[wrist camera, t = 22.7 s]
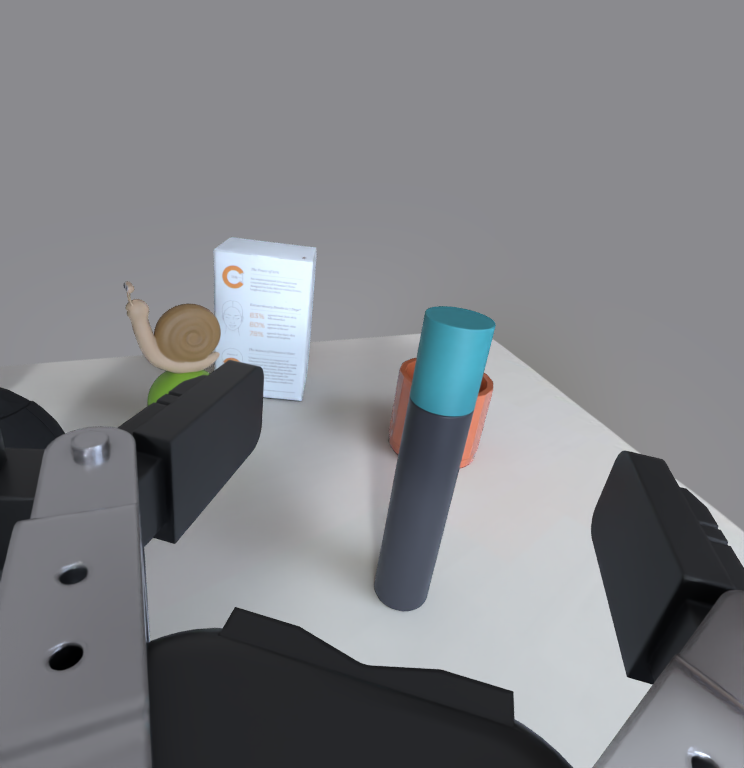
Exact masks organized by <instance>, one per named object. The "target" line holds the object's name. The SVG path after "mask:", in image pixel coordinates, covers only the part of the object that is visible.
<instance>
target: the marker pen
mask: <svg viewBox="0 0 744 768" xmlns="http://www.w3.org/2000/svg"><path fill="white" fill-rule="evenodd" d="M495 326H496V325H495V322H494V321H493V320H492V319H491V318H489V317H487V316H485V315H483V314H480V313H477V312H475V311H471V310H467V309H462V308H457V307H447V306H446V307H445V306H439V307H432V308H429V309H427V310H426V311H425V316H424V322H423V327H422V332H421V337H420V342H419V348H418V353H417V358H416V364H415V369H414V374H413V380H412V385H411V390H410V396H409V401H408V406H407V412H406V417H405V423H404V428H403V433H402V439H401V444H400V449H399V455H398V460H397V465H396V471H395V476H394V481H393V487H392V492H391V497H390V503H389V508H388V513H387V519H386V524H385V529H384V535H383V540H382V545H381V551H380V556H379V561H378V567H377V572H376V578H375V583H374V587H375V592H376V594H377V596H378V598H379V599H380V600H381V601H382V602H383V603H384V604H385V605H387V606H388V607H390V608H392V609H395V610H399V611H411V610H414V609H417V608H419V607H420V606H421V605H422V604H423V603H424V602H425V600H426V598H427V594H428V590H429V586H430V582H431V579H432V575H433V571H434V567H435V563H436V559H437V555H438V551H439V547H440V543H441V539H442V535H443V531H444V527H445V523H446V519H447V515H448V511H449V507H450V504H451V500H452V496H453V492H454V488H455V484H456V480H457V476H458V472H459V468H460V464H461V460H462V456H463V452H464V448H465V444H466V440H467V436H468V432H469V429H470V425H471V421H472V417H473V413H474V409H475V405H476V401H477V397H478V393H479V389H480V385H481V381H482V377H483V373H484V369H485V365H486V361H487V357H488V354H489V350H490V346H491V342H492V338H493V334H494V330H495Z"/></svg>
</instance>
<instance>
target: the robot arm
mask: <svg viewBox="0 0 744 768" xmlns="http://www.w3.org/2000/svg"><path fill="white" fill-rule="evenodd" d="M263 390H264V372H263V369H262V367H260V366H256V365H251V364H247V363H243V362H238V361H234V360H228V361H227V362H225V363H224V364H223V365H221V366H220V367H219V368H217V369H216V370H215V371H213V372H212V373H211V374H209V375H201V376H198V377H195V378H192V379H189V380H186V381H183V382H182V383H180V384H179V385H177V386H176V387H175V388H173V389H172V390H170V391H169V393H168V394H165V395H163V396H162V397H160V398H159V399H158V400H157V401H156V403H154V402H153V403H152V404H150V405H149V406H148V407H146V408H145V409H143V410H142V411H141V412H139V413H138V414H136V415H135V416H133V417H132V418H131V419H129V420H128V421H126V422H125V423H124V424H122V425H121V426H119V427H118V428H114V427H101V426H100V427H88V428H82V429H78V430H74V431H71V432H68V433H66V434H63V435H61V436H59V437H57V438H56V439H55V440H53V441H52V442H51V443H50V444H49V445H48V446H47V447H46V449H28V448H5V447H4V442H3V438H2V433H1V429H0V768H573V767H572V766H571V765H570V764H569V763H568V762H567V761H566V760H565V759H564V758H563V757H562V756H561V755H560V753H559V752H557V751H556V750H555V749H554V748H553V747H552V746H551V745H549V744H548V743H547V742H546V741H545V740H544V739H543V738H541V737H540V736H539V735H537V734H536V733H535V732H533V731H532V730H531V729H529V728H528V727H526V726H525V725H523V724H522V723H520V722H518V721H517V720H515V719H514V698H513V691H510V690H506V689H503V688H500V687H497V686H493V685H490V684H487V683H483V682H480V681H477V680H474V679H470V678H467V677H464V676H460V675H457V674H454V673H450V672H447V671H444V670H440V669H422V668H404V667H386V666H371V665H365V664H362V663H360V662H358V661H356V660H354V659H353V658H351V657H349V656H348V655H346V654H344V653H343V652H341V651H339V650H338V649H336V648H334V647H333V646H331V645H329V644H328V643H326V642H324V641H323V640H321V639H319V638H318V637H316V636H314V635H313V634H311V633H309V632H308V631H306V630H304V629H303V628H301V627H299V626H296V625H293V624H289V623H286V622H283V621H280V620H276V619H273V618H270V617H266V616H263V615H260V614H257V613H253V612H250V611H247V610H243V609H240V608H237V607H235V608H234V610H233V612H232V613H231V615H230V617H229V618H228V620H227V622H226V624H225V625H224V627H223V628H207V629H195V630H189V631H183V632H178V633H175V634H171V635H167V636H164V637H160V638H158V639H155V640H153V641H150V629H149V614H148V598H147V582H146V566H145V552H144V547H145V546H146V545H147V544H148V543H149V541H150V540H151V539H152V538H156V539H160V540H163V541H167V542H170V543H173V544H175V543H176V542H177V541H178V540H179V539H180V537H181V536H182V535H183V534H184V533H185V531H186V530H187V529H188V528H189V527H190V525H191V524H192V523H193V522H194V521H195V520H196V518H197V517H198V516H199V515H200V514H201V512H202V511H203V510H204V509H205V508H206V506H207V505H208V504H209V503H210V502H211V500H212V499H213V498H214V497H215V496H216V494H217V493H218V492H219V491H220V490H221V488H222V487H223V486H224V485H225V484H226V482H227V481H228V480H229V479H230V478H231V476H232V475H233V474H234V473H235V472H236V470H237V469H238V468H239V467H240V466H241V465H242V463H243V462H244V461H245V460H246V459H247V457H248V456H249V455H250V454H251V453H252V451H253V450H254V448H255V447H256V445H257V442H258V440H259V437H260V433H261V428H262V411H263ZM591 536H592V541H593V545H594V549H595V553H596V557H597V560H598V564H599V568H600V572H601V576H602V580H603V584H604V588H605V592H606V596H607V600H608V604H609V608H610V612H611V616H612V620H613V623H614V627H615V631H616V635H617V639H618V643H619V647H620V651H621V655H622V659H623V663H624V667H625V671H626V675H627V677H629V678H632V679H635V680H639V681H642V682H646V683H649V684H653V685H652V687H651V688H650V689H649V691H648V692H647V694H646V695H645V696H644V698H643V699H642V700H641V702H640V703H639V705H638V706H637V707H636V709H635V710H634V711H633V713H632V714H631V716H630V717H629V718H628V720H627V721H626V722H625V724H624V725H623V726H622V728H621V729H620V731H619V732H618V733H617V735H616V736H615V737H614V739H613V740H612V742H611V743H610V744H609V746H608V747H607V748H606V750H605V751H604V753H603V754H602V755H601V757H600V758H599V759H598V761H597V762H596V764H595V765H594V766H593V768H744V568H743V566H742V564H741V563H740V561H739V559H738V558H737V556H736V554H735V553H734V551H733V549H732V548H731V546H728V545H727V544H728V541H727V540H726V538H725V536H724V535H723V533H722V531H721V530H719V529H718V525H717V523H716V521H715V520H714V518H713V517H712V515H711V513H710V512H709V510H708V508H707V507H706V506H705V505H704V504H703V503H702V502H700V501H699V500H698V499H697V498H696V497H695V496H694V495H693V494H692V493H690V492H689V491H688V490H687V489H685V488H681V487H679V486H678V484H677V482H676V480H675V478H674V477H673V475H672V473H671V471H670V470H669V468H668V466H667V464H666V463H665V461H664V460H663V459H659V458H655V457H650V456H646V455H642V454H638V453H633V452H629V451H622V452H621V453H620V454H619V455H618V457H617V458H616V460H615V462H614V465H613V467H612V470H611V472H610V474H609V477H608V479H607V481H606V484H605V486H604V488H603V491H602V493H601V496H600V498H599V500H598V503H597V505H596V507H595V510H594V513H593V518H592V524H591Z"/></svg>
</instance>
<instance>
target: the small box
mask: <svg viewBox="0 0 744 768" xmlns="http://www.w3.org/2000/svg"><path fill="white" fill-rule="evenodd" d="M316 250H317V248H316V247H308V246H299V245H291V244H282V243H275V242H267V241H258V240H250V239H242V238H235V237H230V238H229V239H227V240H226V241H225V242H223V243H222V244H221V245H219V246H218V247H217V248H216V249H214V250H213V253H214V315H215V316H216V318H217V320H218V322H219V325H220V328H221V336H220V341H219V343H218V345H217V347H216V348H215V350H214V352H219V353H220V355H219V357H218V359H217V360H216V361H215V362H214V363H215V370H216V369H217V368H219V367H220V366H221V365H223V364H224V363H225V362H227V361H228V360H234V361H238V362H243V363H247V364H251V365H256V366H260V367H262V369H263V372H264V390H263V397H267V398H278V399H288V400H298V401H302V398H303V393H304V387H305V382H306V377H307V371H308V359H309V347H310V335H311V322H312V308H313V295H314V283H315V268H316Z"/></svg>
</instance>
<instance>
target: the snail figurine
mask: <svg viewBox="0 0 744 768" xmlns="http://www.w3.org/2000/svg"><path fill="white" fill-rule="evenodd" d="M124 288H125V289H126V291H127V297H128V301H129V302H128V303H127V305H126V310H127V315H128V317H129V318H130V320H131V323H132V327H133V331H134V334H135V336H136V339H137V342H138V344H139V347H140V349H141V351H142V353H143V354H144V356H145V357H146V359H147V360H148V361H149V362H150V363H151V364H152V365H154V366H155V367H157V368H160V369H163V370H166V372H164V373H163V374H161V375H160V376H159V377H158V378H157V379H156V380H155V381H154V383H153V384H152V386H151V388H150V391H149V394H148V406H149V405H150V404H152V403H153V402H154V403H156V401H157V400H158V399H159V398H160V397H162V396H163V395H165V394H168V393H169V391H170V390H172V389H173V388H175V387H176V386H177V385H179V384H180V383H182V382H183V381H186V380H189V379H192V378H195V377H198V376H201V375H209V374H210V373H208V372H207V371H205V370H204V369H206V368H208V367H209V366H211V365H212V364H213V363H214V362H215V361H216V360H217V359H218V357H219V355H220V353H219V352H213V351H214V350H215V348H216V347H217V345H218V343H219V341H220V336H221V328H220V325H219V322H218V320H217V318H216V316H215V315H214V314H213V313H212V312H211V311H210V310H208V309H207V308H205V307H203V306H200V305H196V304H181V305H178V306H175V307H173V308H171V309H169V310H168V311H167V312H165V313H164V314H163V315H162V316H161V317H160V319H159V320H158V322H157V324H156V327H155V331H154V335H153V332H152V329H151V327H150V324H149V320H148V314H149V307H148V305H147V304H146V303H145V302H144V301H142V300H139V299H134V300H131V299H130V293H132V292H133V291H134V286H132V284H131V283H130V282H128V281H127V282H125V283H124ZM128 293H129V296H128Z"/></svg>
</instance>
